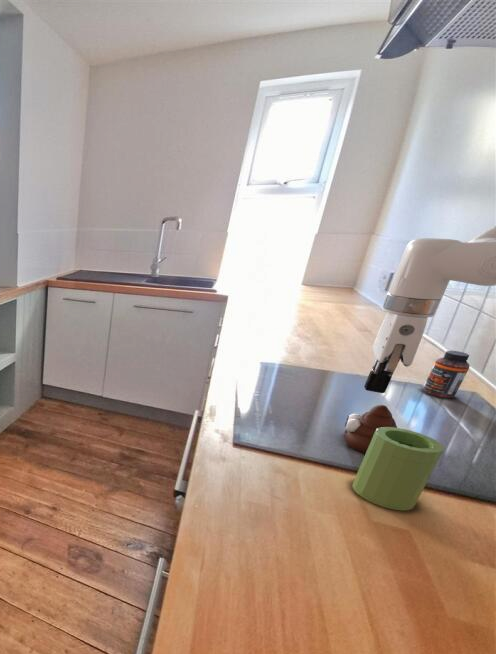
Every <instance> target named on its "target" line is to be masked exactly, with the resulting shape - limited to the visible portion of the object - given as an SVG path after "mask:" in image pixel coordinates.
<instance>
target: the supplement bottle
mask: <svg viewBox="0 0 496 654" xmlns="http://www.w3.org/2000/svg"><path fill="white" fill-rule="evenodd" d="M469 357H470V354H469V353H467V352H463V351H459V350H446V351H445V353H444V355H443V357H439V358H437V359H436V360H435V361H434V364H433V366H432V368H431V370H430V372H429V375H428V377H427V379H426V380H425V382H424V385H423V387H422V391H423V392H424V393H425V394H427V395H430V396H434V397H437V398H442V399H443V398H444V399H452V398H454V397H455V396H456V395H457V393H458V391H459V389H460V387H461V385H462V383H463V381H464V379H465V378H466V375H467V373H468V371H469V370H470V367H471V365H470V363H469V362H468V361H467V360H469Z"/></svg>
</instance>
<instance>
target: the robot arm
mask: <svg viewBox="0 0 496 654" xmlns="http://www.w3.org/2000/svg"><path fill="white" fill-rule="evenodd" d="M450 281H453V282H458V283H465V284H470V285H475V286H476V285H477V286H482V287H492V286H493V287H494V286H496V225H494V226H493V227H491V228H489V229H487V230H485V231H484V232H482V233H481V234H479V235H477V236H476V237H474V238H472V239H471V240H469V241H466V242H465V241H464V242H462V241H461V240H457V239H452V238H433V237H432V238H430V237H429V238H428V237H423V238H422V237H421V238H416V239H415V238H414V239H413V240H411V241H410V242H408V243H407V245H406V247H405V249H404V251H403V253H402V256H401V259H400V261H399V264H398V266H397V269H396V271H395V274H394V276H393V278H392V282H391V284H390V287H389V290H388V292H387V294H386V297H385V300H384V302H383V304H382V308H381V311H382V312H385V313H386V314H385V316H384V319H383V321H382V323H381V325H380V327H379V330H378V332H377V335H376V337H375V340H374V343H373V346H372V354H373V356H374V357H375V359H374V361H373V364H372V368H371V370H370V371H369V374H368V376H367V379H366V381H365V383H364V386H363V387H364V389H365V390H366V391H367V392H372V393H378V394H385V393H386V391H387V389H388V387H389V384H390V383H391V380H392V377H393V375H394V373H395V371H396V369H397V367H398V364H399V363H400V362H401V363H402V365H403V366H404V367H406V368H408V367H410V366H412V365H413V363H414V359H415V356H416V354H417V351H418V349H419V346H420V343H421V342H422V338H423V335H424V333H425V330H426V327H427V322H428V318H433V317H434V316H435V314H436V312H437V310H438V308H439V306H440V303H441V301H442V298H443V296H444V294H445V292H446V290H447V288H448V285H449V283H450Z"/></svg>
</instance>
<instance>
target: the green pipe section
mask: <svg viewBox="0 0 496 654" xmlns="http://www.w3.org/2000/svg"><path fill="white" fill-rule="evenodd" d="M444 449H445V447H444V445H442V444H441V443H440V442H439V441H438V440H436V439H434V438H432V437H430V436H428V435H426V434H422V433H419V432H418V431H413V430H410V429H406V428H400V427H397V428H394V427H381V428H377V429H376V431H375V433H374V435H373V438H372V440H371V442H370V445H369V447H368V449H367V452H366V453H364V454H365V455H364V457H363V459H362V461H361V463H360V465H359V468H358V470H357V473H356V475H355V477H354V479H353V482H352V489H353V490H354V492H355V493H356V494H357V495H358V496H360V497H361V498H362V499H365V500H366V501H367V502H370V503H371V504H375V505H376V506H379V507H382V508H386V509H390V510H395V511H402V512H403V511H410V510H413V509H414V508H415V506H416V504H417V502H418V500H419V499H420V497H421V495H422V493H423V491H424V489H425V487H426V485H427V483H428V481H429V479H430V477H431V476H432V474H433V472H434V469H435V467H436V465H437V464H438V462H439V460H440V458H441V456H442V454H443V452H444Z"/></svg>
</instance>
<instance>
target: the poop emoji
mask: <svg viewBox="0 0 496 654" xmlns="http://www.w3.org/2000/svg"><path fill="white" fill-rule="evenodd" d="M381 427H394V428H398V426H397V423H396V420H395V418H394V417H393V413H392V412H391V410H389V408H388V407H387V406H386V405H384V404H378V405H375V406H373V407H372V408H371V409H369V411H366V412H364V413H362V414H361V415H360V414H358V413H352V414H349V415H348V416H347V418H346V421H345V423H344V428H345V430H344V434H343V440H344V442H345V444H346V445H348V446H349V447H350V448H351V449H353V450H356V451H358V452H361V453H363V454H366V452H367V449H368V447H369V445H370V442H371V440H372V438H373V435H374V433H375V431H376V429H377V428H381Z"/></svg>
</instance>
